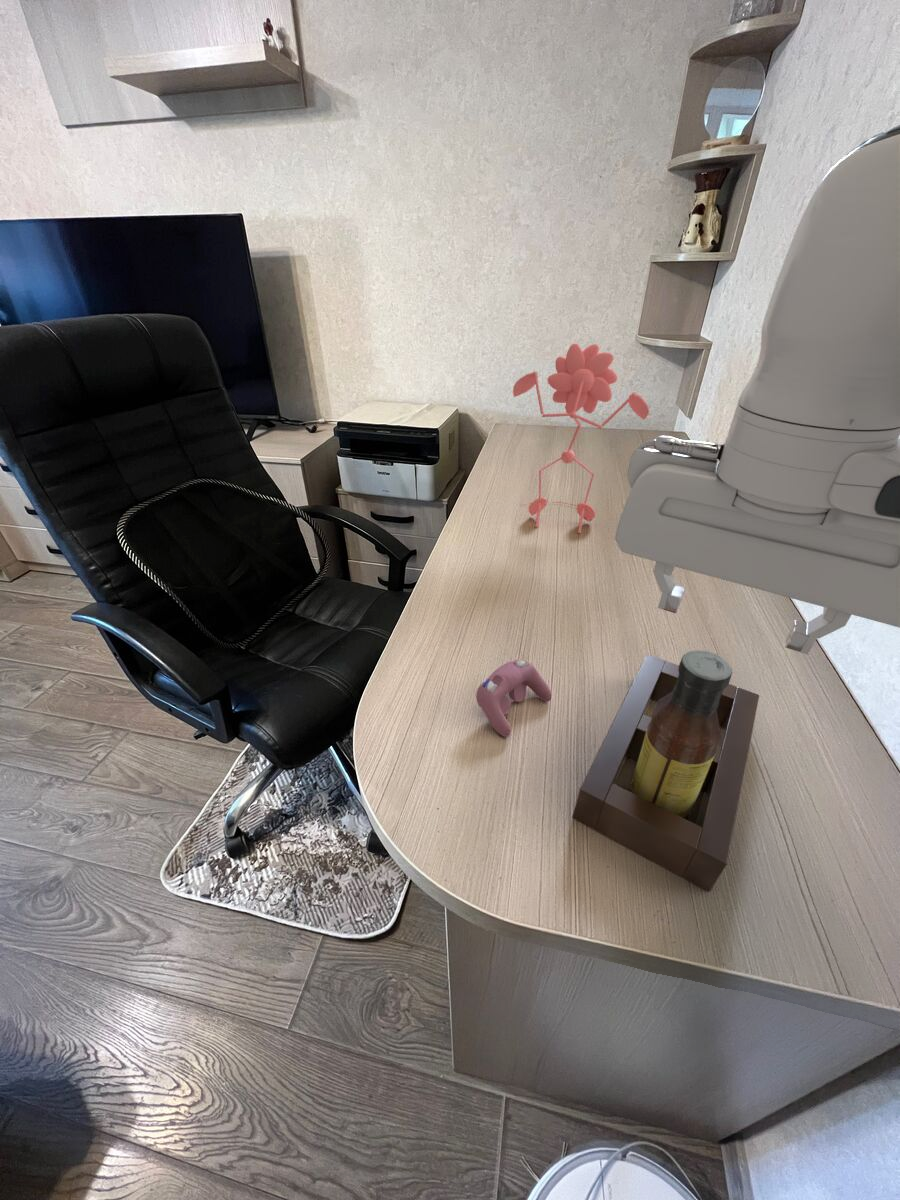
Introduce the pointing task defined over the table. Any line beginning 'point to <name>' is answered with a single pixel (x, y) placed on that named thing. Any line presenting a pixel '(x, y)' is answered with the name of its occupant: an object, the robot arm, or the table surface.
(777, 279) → the robot arm
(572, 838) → the table surface
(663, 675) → the hole block
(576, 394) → the flower sculpture
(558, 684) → the table surface
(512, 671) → the video game controller
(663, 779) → the sauce bottle
